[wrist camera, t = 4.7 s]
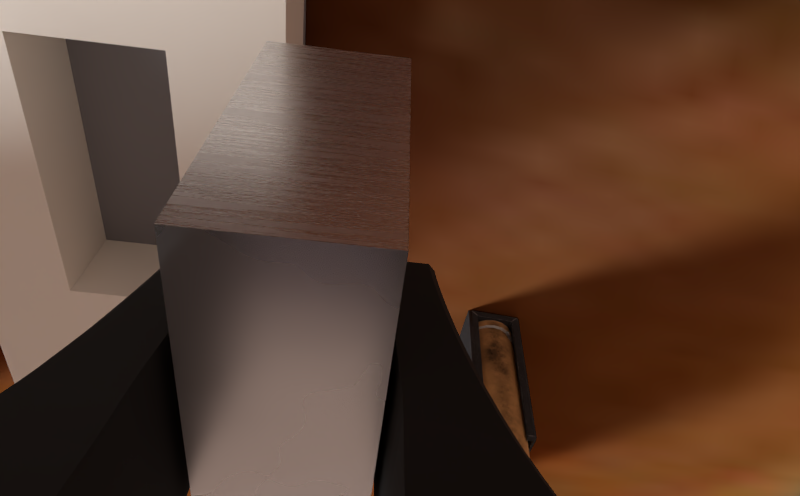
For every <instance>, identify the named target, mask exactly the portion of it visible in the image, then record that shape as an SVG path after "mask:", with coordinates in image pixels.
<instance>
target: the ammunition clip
mask: <svg viewBox="0 0 800 496" xmlns="http://www.w3.org/2000/svg"><path fill="white" fill-rule="evenodd" d="M460 338H461V340H462V342H463V344H464V346H465V348H466V350H467V352H468V354H469V356H470V358H471V360H472V362H473V364H474V366H475V368H476V370H477V372H478V374H479V376H480V378H481V380H482V381H483V383H484V385H485V387H486V389H487V391H488V392H489V394H490V396H491V397H492V399H493V401H494V403H495V404H496V406H497V408H498V409H499V411H500V413H501V414H502V416H503V418H504V419H505V421H506V423H507V424H508V426H509V427H510V429H511V431H512V432H513V434H514V435H515V437H516V438H517V440H518V442H519V443H520V445H521V446H522V448H523V449H524V451H525V452H526V454H527V455H528V456H529V458H530V454H529V453H530V451H531V449H532V447H533V445H534V443H535V441H536V431H535V425H534V418H533V412H532V405H531V399H530V392H529V386H528V379H527V373H526V366H525V360H524V354H523V347H522V340H521V334H520V327H519V321H518V319H517V318H514V317H508V316H502V315H496V314H490V313H484V312H478V311H468V314H467V316H466V319H465V322H464V325H463V328H462V331H461V334H460Z"/></svg>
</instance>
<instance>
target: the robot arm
mask: <svg viewBox="0 0 800 496" xmlns="http://www.w3.org/2000/svg"><path fill="white" fill-rule="evenodd" d="M189 488H190V484H189V477H188V470H187V462H186V455H185V448H184V441H183V433H182V426H181V419H180V411H179V404H178V397H177V389H176V382H175V375H174V368H173V360H172V353H171V346H170V338H169V331H168V324H167V317H166V309H165V302H164V295H163V287H162V280H161V273H160V269H159V270H158V271H156V272H155V273H154V274H153V275H152V276H151V277H150V278H149V279H147V280H146V281H145V282H144V283H143V284H142V285H140V286H139V287H138V288H137V289H136V290H135V291H134V292H132V293H131V294H130V295H129V296H128V297H127V298H125V299H124V300H123V301H122V302H121V303H119V304H118V305H117V306H116V307H115V308H113V309H112V310H111V311H110V312H109V313H107V314H106V315H105V316H104V317H103V318H101V319H100V320H99V321H98V322H97V323H95V324H94V325H93V326H92V327H90V328H89V329H88V330H87V331H85V332H84V333H83V334H81V335H80V336H79V337H77V338H76V339H75V340H73V341H72V342H71V343H69V344H68V345H67V346H66V347H64V348H63V349H62V350H60V351H59V352H58V353H56V354H55V355H54V356H52V357H51V358H50V359H48V360H47V361H46V362H44V363H43V364H42V365H40V366H39V367H38V368H36V369H35V370H34V371H32V372H31V373H29V374H28V375H26V376H25V377H24V378H22V379H21V380H19V381H18V382H16V383H15V384H14V385H12V386H11V387H9V388H8V389H6V390H5V391H3V392H2V393H0V496H187V493H188V491H189ZM374 496H556V494H555V493H554V491H553V490H552V489H551V487H550V486H549V485H548V483H547V482H546V481H545V479H544V478H543V477H542V475H541V474H540V472H539V471H538V469H537V468H536V467H535V465H534V464H533V462H532V461H531V459H530V458H529V456H528V455H527V454H526V452H525V451H524V449H523V448H522V446H521V445H520V443H519V442H518V440H517V438H516V437H515V435H514V434H513V432H512V431H511V429H510V427H509V426H508V424H507V423H506V421H505V419H504V418H503V416H502V414H501V413H500V411H499V409H498V408H497V406H496V404H495V403H494V401H493V399H492V397H491V396H490V394H489V392H488V391H487V389H486V387H485V385H484V383H483V381H482V380H481V378H480V376H479V374H478V372H477V370H476V368H475V366H474V364H473V362H472V360H471V358H470V356H469V354H468V352H467V350H466V348H465V346H464V344H463V342H462V340H461V338H460V336H459V334H458V332H457V330H456V328H455V325H454V323H453V321H452V318H451V316H450V314H449V311H448V309H447V306H446V304H445V301H444V299H443V296H442V293H441V291H440V288H439V285H438V282H437V279H436V275H435V271H434V270H433V269H432V268H431V266H430V265H429V264H422V263H413V262H407V263H406V270H405V276H404V283H403V290H402V296H401V303H400V309H399V316H398V322H397V329H396V335H395V342H394V349H393V355H392V362H391V368H390V375H389V381H388V388H387V394H386V401H385V408H384V414H383V421H382V427H381V434H380V440H379V447H378V453H377V460H376V467H375V473H374Z"/></svg>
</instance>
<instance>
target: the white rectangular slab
mask: <svg viewBox="0 0 800 496" xmlns="http://www.w3.org/2000/svg"><path fill="white" fill-rule="evenodd" d="M305 30H306V0H0V346H1V348H2V351H3V354H4V356H5V359H6V362H7V364H8V367H9V370H10V372H11V375H12V378H13V380H14V383H16V382H18V381H19V380H21V379H22V378H24V377H25V376H26V375H28V374H29V373H31V372H32V371H34V370H35V369H36V368H38V367H39V366H40V365H42V364H43V363H44V362H46V361H47V360H48V359H50V358H51V357H52V356H54V355H55V354H56V353H58V352H59V351H60V350H62V349H63V348H64V347H66V346H67V345H68V344H69V343H71V342H72V341H73V340H75V339H76V338H77V337H79V336H80V335H81V334H83V333H84V332H85V331H87V330H88V329H89V328H90V327H92V326H93V325H94V324H95V323H97V322H98V321H99V320H100V319H101V318H103V317H104V316H105V315H106V314H107V313H109V312H110V311H111V310H112V309H113V308H115V307H116V306H117V305H118V304H119V303H121V302H122V301H123V300H124V299H125V298H127V297H128V296H129V295H130V294H131V293H132V292H134V291H135V290H136V289H137V288H138V287H139V286H140V285H142V284H143V283H144V282H145V281H146V280H147V279H149V278H150V277H151V276H152V275H153V274H154V273H155V272H156V271H158V270H159V269H160V265H159V258H158V251H157V244H156V236H155V229H154V223H155V221H156V220H157V218H158V217H159V215H160V213H161V212H162V210H163V208H164V207H165V205H166V204H167V202H168V200H169V199H170V197H171V195H172V194H173V192H174V191H175V189H176V187H177V186H178V184H179V183H180V181H181V179H182V178H183V176H184V174H185V173H186V171H187V170H188V168H189V166H190V165H191V163H192V161H193V160H194V158H195V157H196V155H197V153H198V152H199V150H200V149H201V147H202V145H203V144H204V142H205V140H206V139H207V137H208V136H209V134H210V132H211V131H212V129H213V128H214V126H215V124H216V123H217V121H218V119H219V118H220V116H221V115H222V113H223V111H224V110H225V108H226V106H227V105H228V103H229V102H230V100H231V98H232V97H233V95H234V94H235V92H236V90H237V89H238V87H239V85H240V84H241V82H242V81H243V79H244V77H245V76H246V74H247V72H248V71H249V69H250V68H251V66H252V64H253V63H254V61H255V60H256V58H257V56H258V55H259V53H260V51H261V50H262V48H263V47H264V45H265V43H266V42H267V41H272V42H281V43H289V44H297V45H305Z"/></svg>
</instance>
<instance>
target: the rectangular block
mask: <svg viewBox="0 0 800 496" xmlns="http://www.w3.org/2000/svg"><path fill="white" fill-rule="evenodd" d="M410 106H411V58H404V57H396V56H388V55H380V54H371V53H363V52H355V51H347V50H338V49H330V48H322V47H314V46H305V45H297V44H289V43H281V42H272V41H267V42H266V43H265V45H264V47H263V48H262V50H261V51H260V53H259V55H258V56H257V58H256V60H255V61H254V63H253V64H252V66H251V68H250V69H249V71H248V72H247V74H246V76H245V77H244V79H243V81H242V82H241V84H240V85H239V87H238V89H237V90H236V92H235V94H234V95H233V97H232V98H231V100H230V102H229V103H228V105H227V106H226V108H225V110H224V111H223V113H222V115H221V116H220V118H219V119H218V121H217V123H216V124H215V126H214V128H213V129H212V131H211V132H210V134H209V136H208V137H207V139H206V140H205V142H204V144H203V145H202V147H201V149H200V150H199V152H198V153H197V155H196V157H195V158H194V160H193V161H192V163H191V165H190V166H189V168H188V170H187V171H186V173H185V174H184V176H183V178H182V179H181V181H180V183H179V184H178V186H177V187H176V189H175V191H174V192H173V194H172V195H171V197H170V199H169V200H168V202H167V204H166V205H165V207H164V208H163V210H162V212H161V213H160V215H159V217H158V218H157V220H156V221H155V223H154V229H155V236H156V244H157V251H158V258H159V265H160V273H161V280H162V287H163V295H164V302H165V309H166V317H167V324H168V331H169V338H170V346H171V353H172V360H173V368H174V375H175V382H176V389H177V397H178V404H179V411H180V419H181V426H182V433H183V441H184V448H185V455H186V462H187V470H188V477H189V484H190V492H191V496H371V493H372V486H373V480H374V473H375V467H376V460H377V453H378V447H379V440H380V434H381V427H382V421H383V414H384V408H385V401H386V394H387V388H388V381H389V375H390V368H391V362H392V355H393V349H394V342H395V335H396V329H397V322H398V316H399V309H400V303H401V296H402V290H403V283H404V276H405V270H406V263H407V257H408V244H409V175H410Z"/></svg>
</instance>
